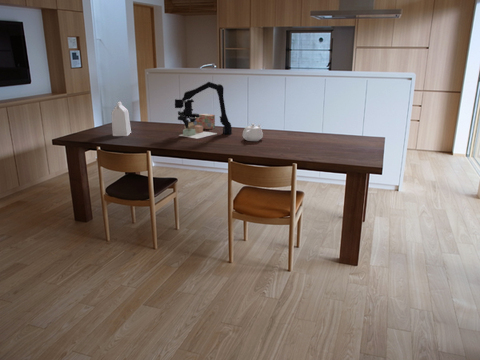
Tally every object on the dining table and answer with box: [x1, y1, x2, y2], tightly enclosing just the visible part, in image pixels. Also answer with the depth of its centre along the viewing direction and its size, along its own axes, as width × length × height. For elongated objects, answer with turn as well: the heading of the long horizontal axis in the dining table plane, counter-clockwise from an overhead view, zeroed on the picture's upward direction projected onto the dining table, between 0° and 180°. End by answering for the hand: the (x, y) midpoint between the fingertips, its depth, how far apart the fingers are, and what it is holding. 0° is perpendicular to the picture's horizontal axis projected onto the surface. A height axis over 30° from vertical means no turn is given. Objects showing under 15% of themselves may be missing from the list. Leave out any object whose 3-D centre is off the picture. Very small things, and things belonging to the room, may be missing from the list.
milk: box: [111, 101, 132, 137], centre depth 330 cm, size 12×12×26 cm
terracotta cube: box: [193, 125, 204, 133], centre depth 338 cm, size 5×5×5 cm
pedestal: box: [182, 128, 196, 136], centre depth 329 cm, size 7×7×4 cm
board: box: [178, 130, 218, 140], centre depth 330 cm, size 20×24×1 cm
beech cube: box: [183, 120, 194, 130], centre depth 327 cm, size 5×5×5 cm
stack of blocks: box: [193, 113, 216, 130], centre depth 356 cm, size 21×6×12 cm, turn 58°
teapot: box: [242, 123, 264, 142], centre depth 313 cm, size 25×16×12 cm, turn 153°
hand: (189, 127), depth 327 cm, fingers closed on beech cube, 5 cm apart
